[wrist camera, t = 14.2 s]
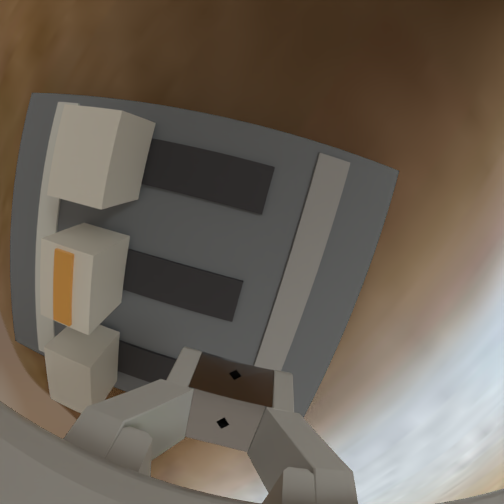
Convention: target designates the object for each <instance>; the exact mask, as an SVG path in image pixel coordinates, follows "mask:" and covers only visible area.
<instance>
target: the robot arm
mask: <svg viewBox="0 0 504 504" xmlns="http://www.w3.org/2000/svg"><path fill="white" fill-rule="evenodd" d="M185 437H189V438H193V439H197V440H201V441H205V442H209V443H213V444H217V445H221V446H225V447H229V448H233V449H237V450H241V451H245V452H248V453H247V454H248V456H249V457H250V459H251V461H252V463H253V465H254V467H255V469H256V471H257V473H258V474H259V476H260V478H261V480H262V482H263V484H264V485H265V487H266V489H267V491H268V493H269V494H268V495H267V497H266V498H265V500H264V501H263V503H262V504H358V501H357V494H356V488H355V482H354V476H353V472H352V470H351V469H350V468H349V467H348V466H347V465H346V464H345V463H344V462H343V461H342V460H341V459H340V458H339V457H338V456H337V455H336V453H335V452H334V451H333V450H332V449H331V448H330V447H329V446H328V445H327V444H326V443H325V441H324V440H323V439H322V438H321V437H320V436H319V435H318V434H317V433H316V431H315V430H314V429H313V428H312V427H311V426H310V425H309V424H308V422H307V421H306V420H305V419H304V418H303V417H302V416H301V415H300V413H295V412H294V394H293V375H292V374H291V373H289V372H283V371H278V370H270V369H266V368H261V367H257V366H252V365H248V364H244V363H239V362H237V361H234V360H230V359H226V358H223V357H219V356H216V355H213V354H209V353H206V352H202V351H199V350H196V349H192V348H189V347H186V346H185V347H184V348H182V350H181V352H180V354H179V356H178V358H177V360H176V362H175V364H174V366H173V368H172V370H171V372H170V374H169V376H168V378H167V380H163V379H159V380H157V381H154V382H152V383H149V384H147V385H144V386H141V387H139V388H136V389H134V390H131V391H128V392H126V393H123V394H120V395H118V396H115V397H112V398H109V399H107V400H104V401H101V402H98V403H95V404H92V405H89V406H87V407H86V408H85V410H84V411H83V412H82V414H81V415H80V416H79V418H78V419H77V420H76V422H75V423H74V425H73V426H72V428H71V429H70V430H69V432H68V433H67V434H66V436H65V437H64V439H62V438H60V437H58V436H56V435H54V434H52V433H51V432H49V431H47V430H45V429H43V428H42V427H40V426H38V425H37V424H35V423H33V422H32V421H30V420H28V419H27V418H25V417H23V416H22V415H20V414H19V413H17V412H16V411H14V410H13V409H11V408H9V407H8V406H7V405H5V404H4V403H2V402H1V401H0V504H260V503H254V502H248V501H242V500H237V499H231V498H227V497H222V496H217V495H213V494H209V493H204V492H200V491H196V490H193V489H189V488H185V487H182V486H178V485H175V484H172V483H168V482H165V481H162V480H159V479H156V478H153V477H150V474H151V461H152V460H153V459H155V458H156V457H158V456H159V455H161V454H162V453H164V452H165V451H167V450H168V449H170V448H171V447H172V446H174V445H175V444H177V443H178V442H180V441H181V440H183V439H184V438H185ZM437 504H504V489H501V490H497V491H494V492H490V493H486V494H482V495H478V496H474V497H469V498H465V499H460V500H455V501H449V502H444V503H437Z"/></svg>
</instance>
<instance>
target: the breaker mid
mask: <svg viewBox="0 0 504 504" xmlns="http://www.w3.org/2000/svg"><path fill="white" fill-rule="evenodd" d="M129 240H130V236H128V235H125V234H121V233H118V232H115V231H111V230H108V229H104V228H101V227H97V226H94V225H90V224H87V223H82V224H79V225H76V226H73V227H70V228H68V229H65V230H62V231H59V232H57V233H54V234H51V235H49V236H46V237H43V238H41V258H40V310H41V315H43V316H45V317H47V318H50V319H52V320H54V321H56V322H58V323H61V324H63V325H65V326H68V327H70V328H72V329H75V330H77V331H79V332H82V333H84V334H87V335H90V334H91V333H92V331H93V330H94V329H95V328H96V327H97V326H98V325H99V324H100V323H101V322H102V321H103V320H104V319H105V318H106V317H107V316H108V315H109V314H110V313H111V312H112V311H113V310H114V309H115V308H116V307H117V306H118V305H119V304H120V303H121V300H122V291H123V283H124V275H125V267H126V260H127V253H128V246H129Z"/></svg>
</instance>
